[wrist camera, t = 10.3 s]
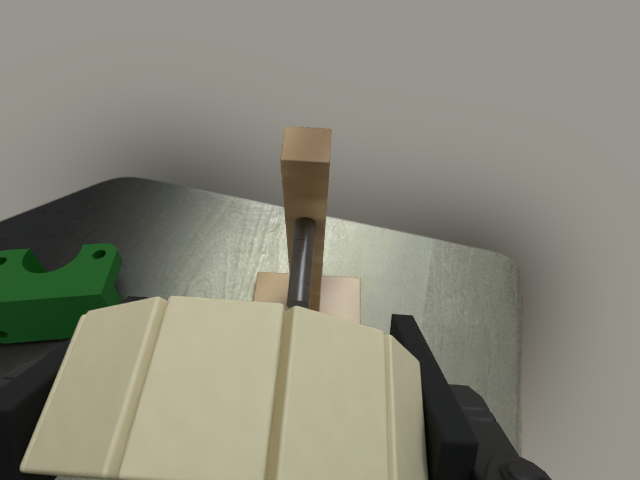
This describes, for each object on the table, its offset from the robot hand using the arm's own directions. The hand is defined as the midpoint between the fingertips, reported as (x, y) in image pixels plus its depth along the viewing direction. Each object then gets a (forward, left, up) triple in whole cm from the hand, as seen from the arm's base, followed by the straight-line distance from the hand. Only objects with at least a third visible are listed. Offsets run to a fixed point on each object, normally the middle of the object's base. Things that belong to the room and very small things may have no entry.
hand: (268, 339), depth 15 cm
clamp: (+23, -2, -21) cm, 31 cm away
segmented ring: (-1, +3, -1) cm, 3 cm away
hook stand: (+2, -8, -21) cm, 22 cm away
